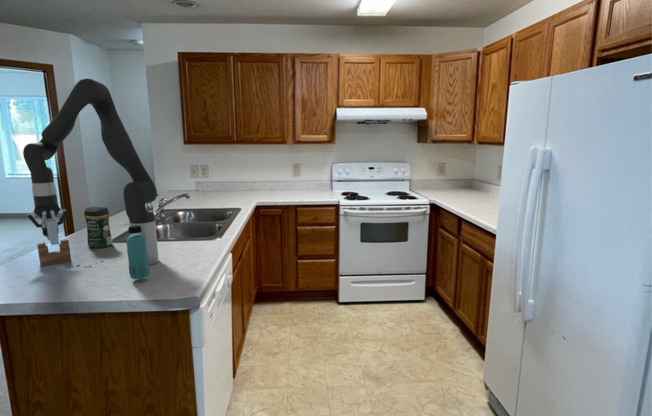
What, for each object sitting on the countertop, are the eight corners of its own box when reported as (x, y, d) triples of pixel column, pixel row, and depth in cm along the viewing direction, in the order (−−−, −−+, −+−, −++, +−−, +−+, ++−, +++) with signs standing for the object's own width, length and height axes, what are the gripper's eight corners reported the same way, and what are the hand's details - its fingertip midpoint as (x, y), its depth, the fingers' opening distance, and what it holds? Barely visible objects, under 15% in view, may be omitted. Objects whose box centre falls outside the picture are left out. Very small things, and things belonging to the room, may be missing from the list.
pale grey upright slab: (54, 237, 155) (51, 216, 153) (59, 243, 146) (56, 221, 144) (47, 238, 153) (43, 217, 151) (51, 245, 144) (48, 222, 143)
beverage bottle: (153, 276, 137) (148, 223, 133) (145, 283, 131) (139, 228, 127) (135, 276, 137) (129, 223, 133) (126, 283, 131) (120, 228, 127)
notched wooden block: (71, 260, 154) (68, 239, 152) (41, 266, 147) (37, 244, 145) (70, 259, 155) (67, 238, 154) (40, 265, 149) (36, 243, 147)
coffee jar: (84, 247, 171) (79, 208, 167) (98, 242, 179) (93, 204, 175) (103, 249, 169) (98, 209, 166) (115, 244, 177) (111, 205, 173)
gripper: (64, 190, 156) (69, 231, 159) (21, 194, 146) (28, 237, 150) (67, 193, 150) (73, 234, 154) (23, 196, 141) (30, 241, 144)
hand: (51, 235), depth 152 cm, fingers closed on pale grey upright slab, 2 cm apart
